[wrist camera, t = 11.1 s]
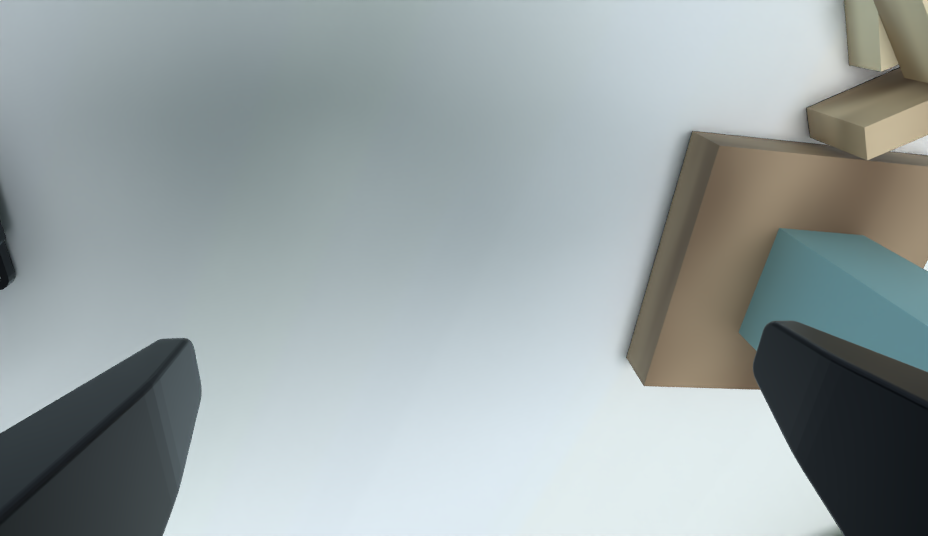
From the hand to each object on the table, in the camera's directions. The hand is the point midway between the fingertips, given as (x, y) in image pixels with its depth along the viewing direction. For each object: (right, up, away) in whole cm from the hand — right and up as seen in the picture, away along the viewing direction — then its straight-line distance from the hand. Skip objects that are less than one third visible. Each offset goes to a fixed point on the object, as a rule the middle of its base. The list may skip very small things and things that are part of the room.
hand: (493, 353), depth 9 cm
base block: (+12, +2, +15) cm, 20 cm away
